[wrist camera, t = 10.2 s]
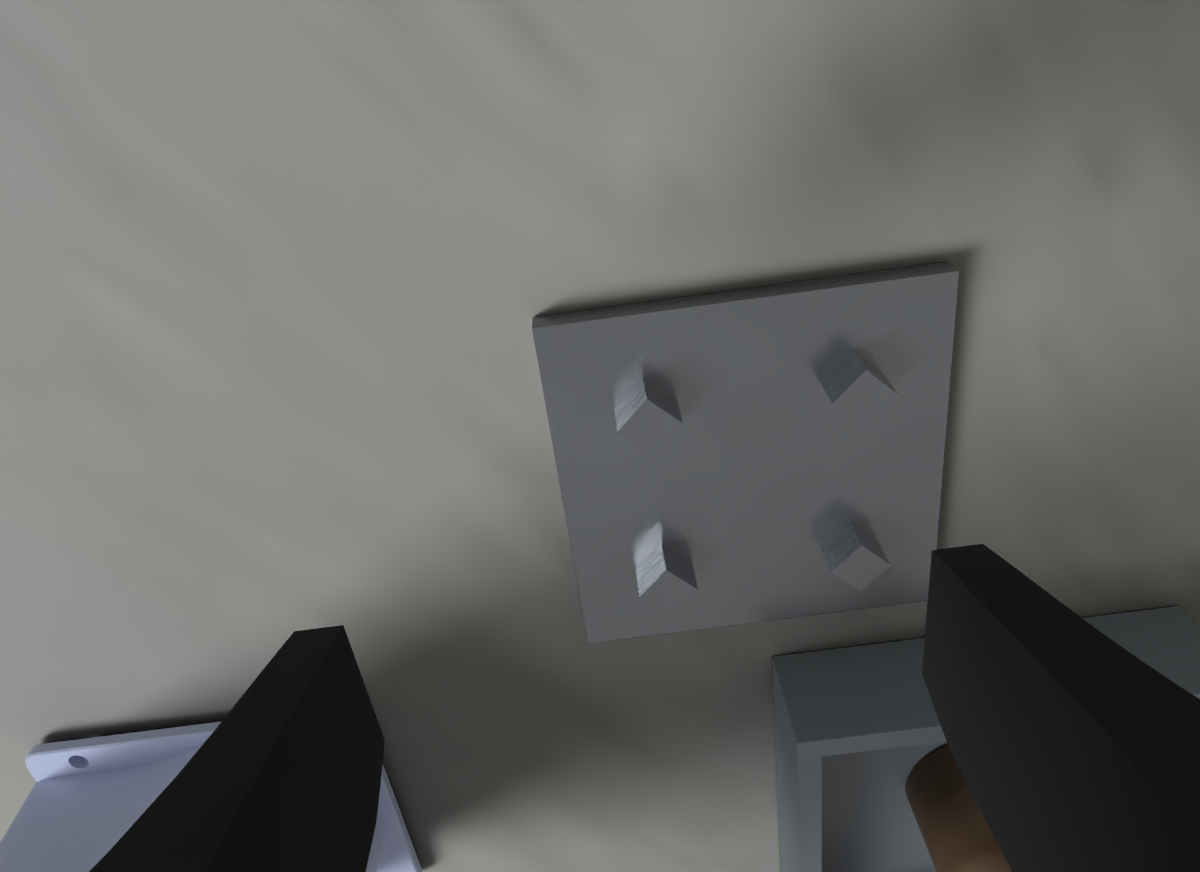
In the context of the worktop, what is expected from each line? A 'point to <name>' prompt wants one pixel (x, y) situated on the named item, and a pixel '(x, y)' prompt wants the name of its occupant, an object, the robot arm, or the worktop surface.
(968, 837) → the brown wooden cylinder
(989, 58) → the worktop surface
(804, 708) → the bin
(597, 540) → the plate
